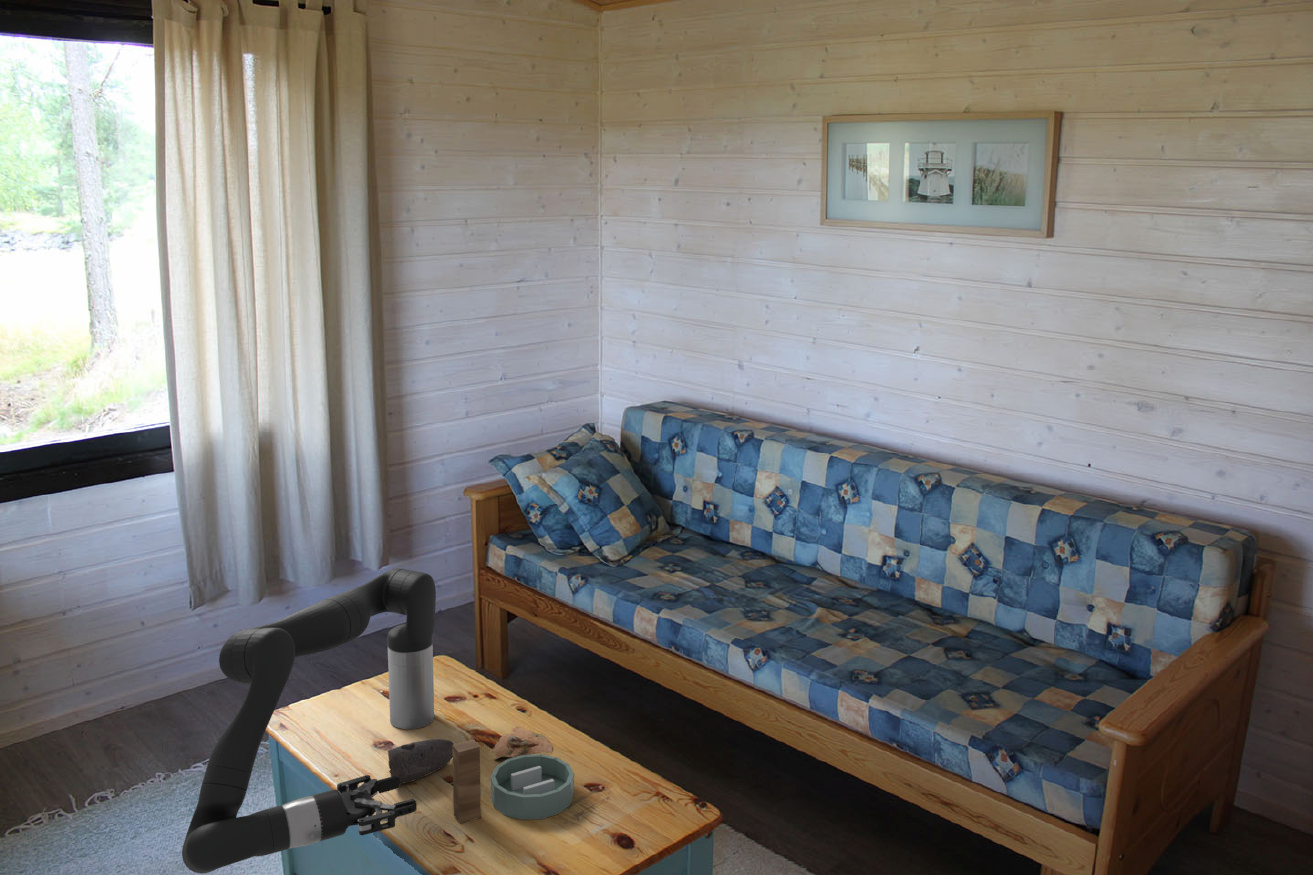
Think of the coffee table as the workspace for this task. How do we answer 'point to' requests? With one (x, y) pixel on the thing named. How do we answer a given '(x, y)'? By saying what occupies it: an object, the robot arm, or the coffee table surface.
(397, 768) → the perforated stone tool
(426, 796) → the coffee table surface
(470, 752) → the tall wooden post
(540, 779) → the slotted round holder
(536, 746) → the clay slab
